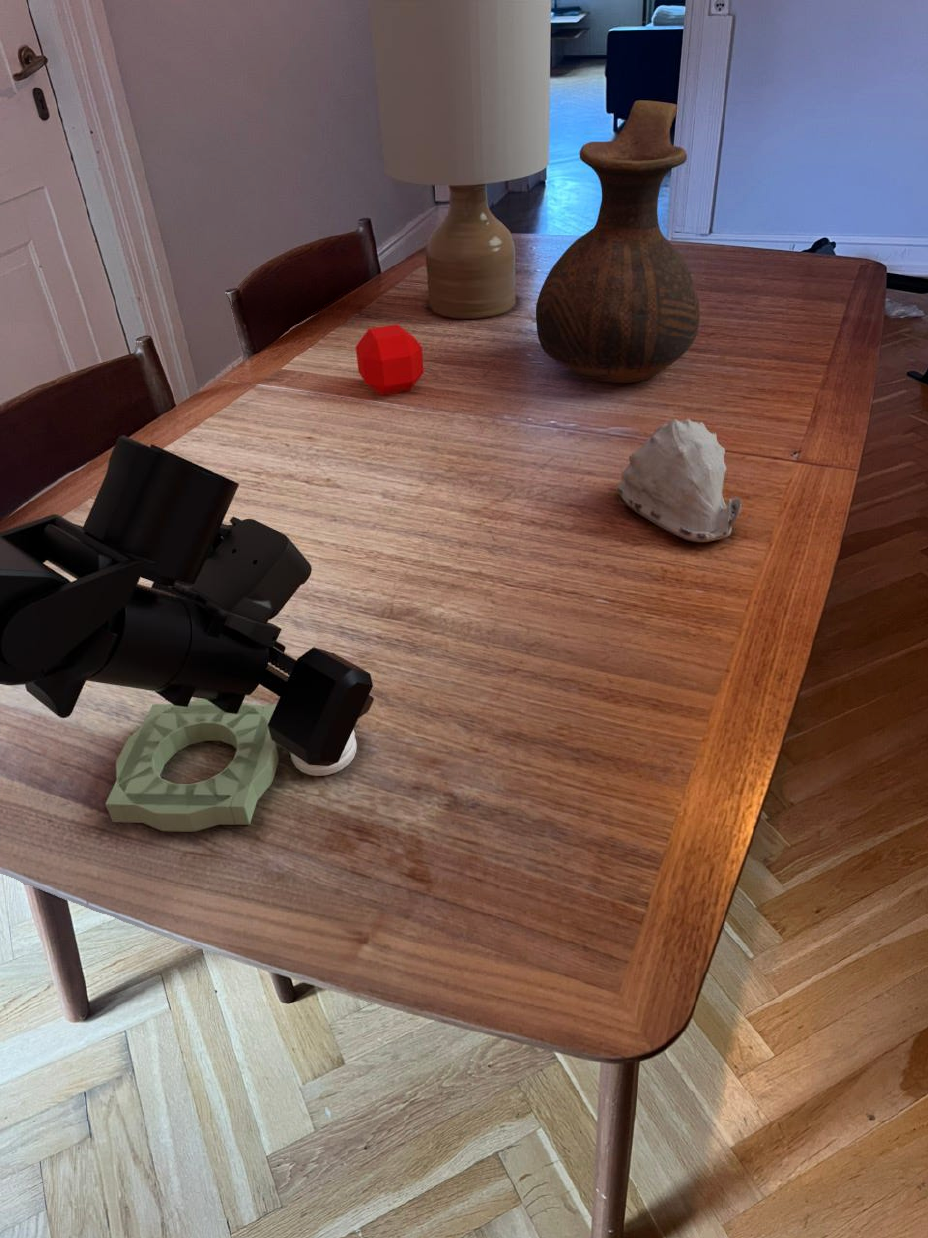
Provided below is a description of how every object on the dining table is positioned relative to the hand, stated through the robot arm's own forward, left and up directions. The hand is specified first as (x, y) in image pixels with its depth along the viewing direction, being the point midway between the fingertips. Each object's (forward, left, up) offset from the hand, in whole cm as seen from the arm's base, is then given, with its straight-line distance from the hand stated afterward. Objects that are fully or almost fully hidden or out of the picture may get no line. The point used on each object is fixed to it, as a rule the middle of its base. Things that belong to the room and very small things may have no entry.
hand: (324, 677), depth 64 cm
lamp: (+5, +96, -7) cm, 96 cm away
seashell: (+31, +34, -7) cm, 47 cm away
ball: (-4, +65, -7) cm, 65 cm away
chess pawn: (-1, -1, -7) cm, 7 cm away
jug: (+26, +71, -7) cm, 76 cm away
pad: (-10, -3, -7) cm, 12 cm away
